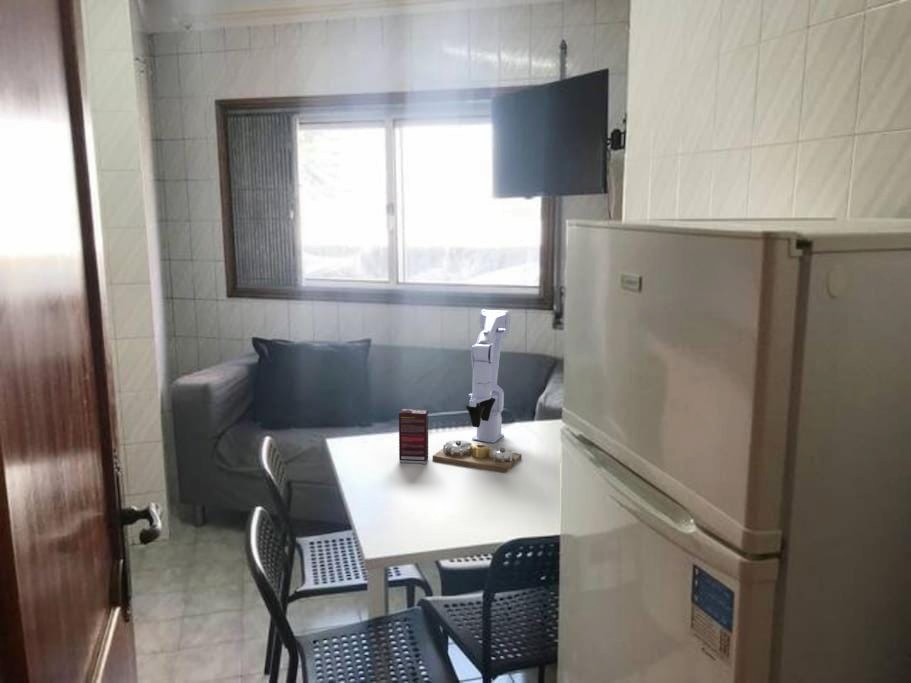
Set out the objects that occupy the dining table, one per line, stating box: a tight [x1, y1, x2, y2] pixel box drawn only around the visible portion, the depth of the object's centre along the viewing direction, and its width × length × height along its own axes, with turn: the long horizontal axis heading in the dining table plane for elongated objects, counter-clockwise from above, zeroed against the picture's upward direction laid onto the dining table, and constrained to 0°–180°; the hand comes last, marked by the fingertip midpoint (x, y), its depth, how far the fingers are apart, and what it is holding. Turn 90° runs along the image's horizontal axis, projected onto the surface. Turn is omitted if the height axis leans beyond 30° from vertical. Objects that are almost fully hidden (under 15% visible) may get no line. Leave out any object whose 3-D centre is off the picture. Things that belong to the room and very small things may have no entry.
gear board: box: [432, 439, 522, 474], centre depth 233 cm, size 14×24×5 cm, turn 66°
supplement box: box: [398, 408, 429, 465], centre depth 230 cm, size 9×5×16 cm, turn 84°
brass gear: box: [472, 443, 491, 458], centre depth 232 cm, size 6×6×3 cm
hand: (480, 423), depth 239 cm, fingers open, 7 cm apart
